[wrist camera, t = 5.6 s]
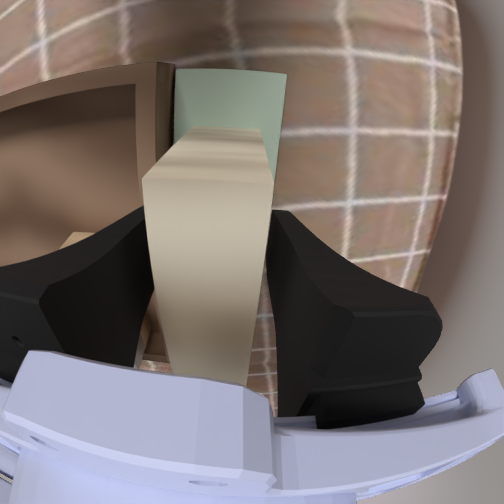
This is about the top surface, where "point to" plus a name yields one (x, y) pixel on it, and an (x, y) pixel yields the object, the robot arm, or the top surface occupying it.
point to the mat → (231, 103)
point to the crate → (81, 160)
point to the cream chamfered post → (209, 247)
